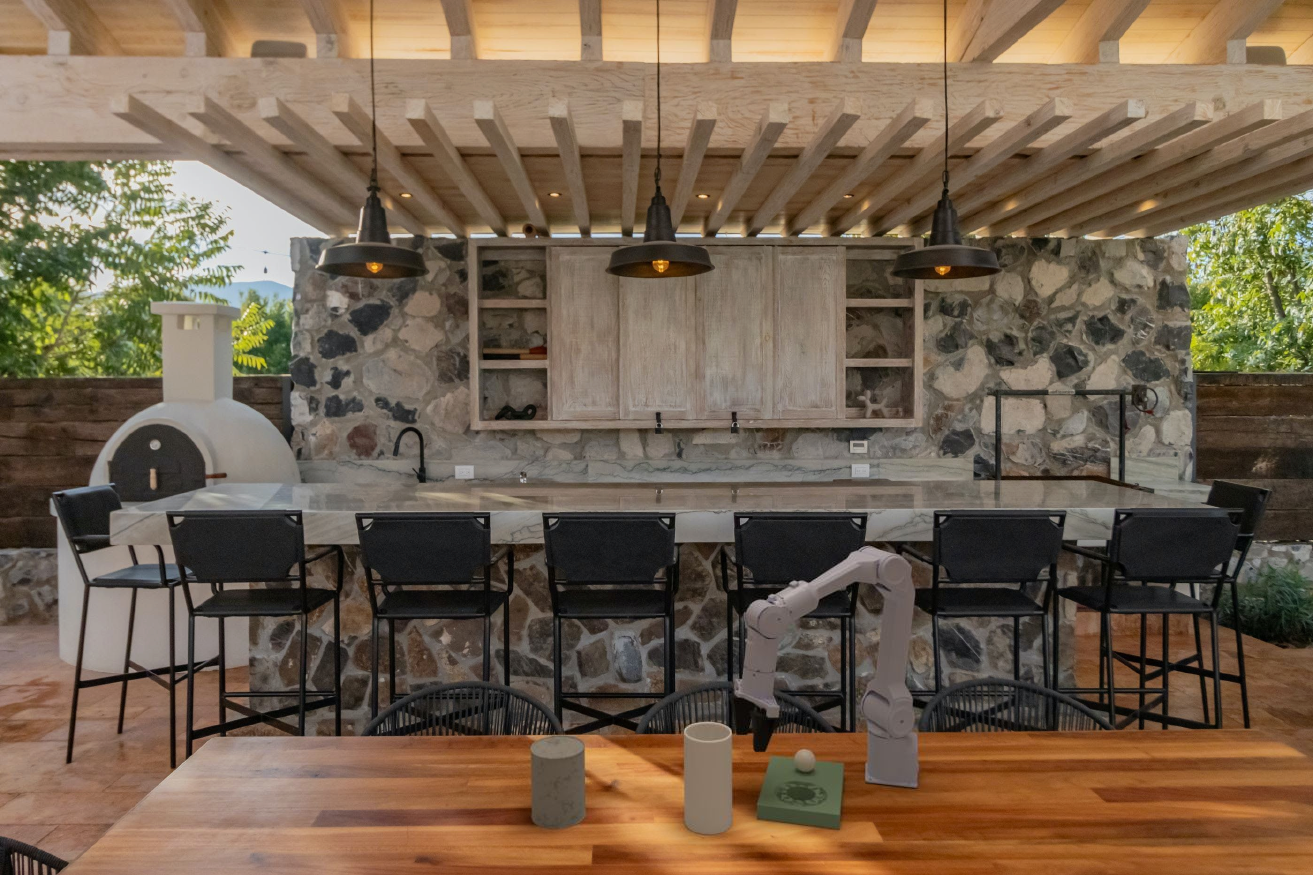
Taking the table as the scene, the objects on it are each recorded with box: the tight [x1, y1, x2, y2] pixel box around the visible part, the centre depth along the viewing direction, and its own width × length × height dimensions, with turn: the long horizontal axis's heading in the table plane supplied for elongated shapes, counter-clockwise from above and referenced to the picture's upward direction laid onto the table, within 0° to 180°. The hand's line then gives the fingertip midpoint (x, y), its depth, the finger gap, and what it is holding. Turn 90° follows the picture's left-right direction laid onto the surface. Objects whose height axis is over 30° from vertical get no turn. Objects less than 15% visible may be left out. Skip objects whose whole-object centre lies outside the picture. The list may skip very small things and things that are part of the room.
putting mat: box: [756, 755, 845, 830], centre depth 150 cm, size 20×14×2 cm
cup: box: [683, 721, 733, 835], centre depth 141 cm, size 8×8×16 cm
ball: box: [793, 748, 817, 772], centre depth 155 cm, size 4×4×4 cm
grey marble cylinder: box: [530, 734, 587, 830], centre depth 144 cm, size 10×10×12 cm
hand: (750, 742), depth 148 cm, fingers open, 7 cm apart
